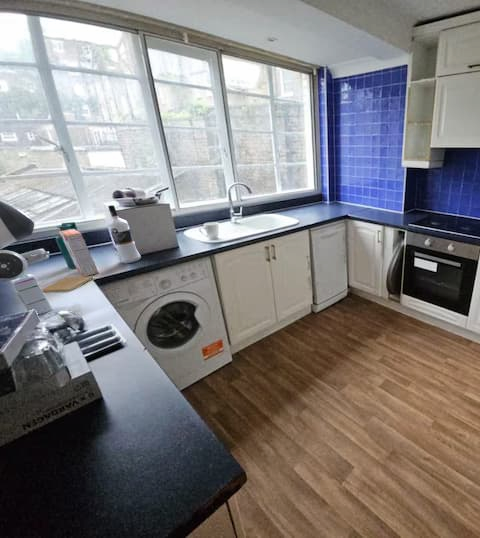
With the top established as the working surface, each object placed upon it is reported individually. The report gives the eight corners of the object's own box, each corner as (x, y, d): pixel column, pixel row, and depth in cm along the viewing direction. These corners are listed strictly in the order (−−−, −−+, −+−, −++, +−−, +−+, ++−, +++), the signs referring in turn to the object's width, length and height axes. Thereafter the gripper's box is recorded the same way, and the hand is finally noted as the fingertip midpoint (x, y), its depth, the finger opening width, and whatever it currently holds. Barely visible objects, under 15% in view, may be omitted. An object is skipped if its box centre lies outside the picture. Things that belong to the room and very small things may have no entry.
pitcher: (87, 266, 153) (69, 225, 144) (67, 269, 150) (47, 227, 141) (95, 260, 161) (78, 221, 153) (76, 263, 159) (58, 223, 150)
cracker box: (76, 271, 148) (58, 231, 139) (91, 267, 152) (74, 228, 144) (83, 277, 140) (64, 235, 131) (99, 273, 144) (81, 232, 136)
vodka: (145, 257, 163) (126, 203, 151) (132, 264, 154) (111, 207, 142) (130, 257, 164) (110, 203, 152) (116, 264, 155) (94, 207, 143)
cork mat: (70, 291, 127) (69, 289, 126) (39, 292, 127) (38, 290, 126) (94, 278, 139) (93, 276, 138) (66, 279, 139) (65, 277, 138)
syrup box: (53, 309, 112) (35, 275, 106) (31, 317, 108) (11, 281, 102) (48, 306, 115) (30, 272, 109) (27, 313, 110) (7, 278, 105)
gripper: (43, 243, 94) (40, 244, 103) (-56, 270, 80) (-49, 269, 89) (55, 260, 97) (51, 260, 105) (-39, 290, 82) (-35, 287, 91)
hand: (4, 264), depth 97 cm, fingers open, 8 cm apart
